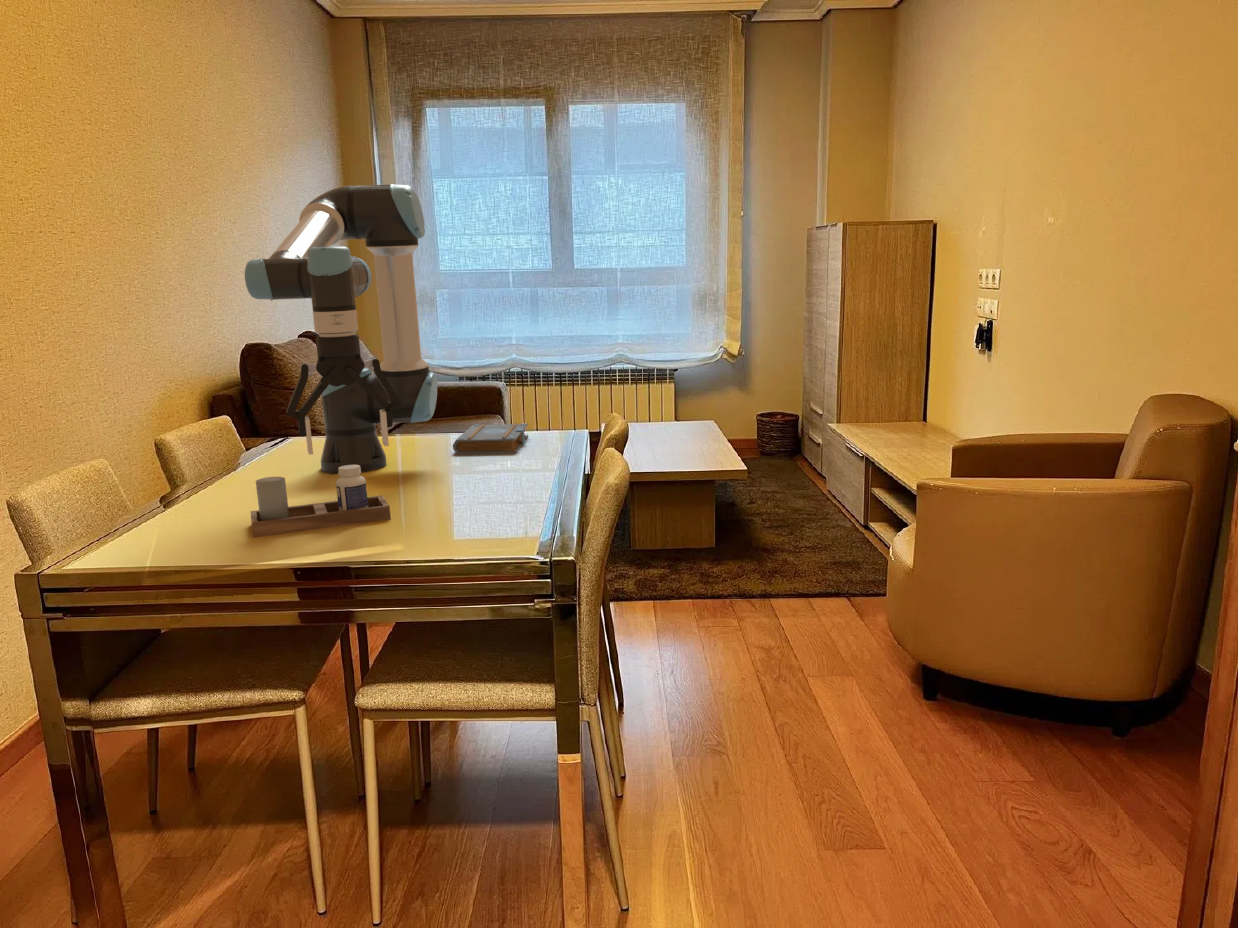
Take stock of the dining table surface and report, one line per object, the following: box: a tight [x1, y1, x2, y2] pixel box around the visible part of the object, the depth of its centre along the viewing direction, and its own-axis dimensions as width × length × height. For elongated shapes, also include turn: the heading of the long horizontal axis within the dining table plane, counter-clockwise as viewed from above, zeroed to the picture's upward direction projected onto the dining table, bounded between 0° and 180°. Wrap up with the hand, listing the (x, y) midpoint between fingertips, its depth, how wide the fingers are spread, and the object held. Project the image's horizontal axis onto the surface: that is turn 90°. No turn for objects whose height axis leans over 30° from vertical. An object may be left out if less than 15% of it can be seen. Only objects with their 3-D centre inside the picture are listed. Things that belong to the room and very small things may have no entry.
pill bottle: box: [335, 465, 369, 511], centre depth 172 cm, size 5×5×10 cm
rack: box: [250, 495, 392, 538], centre depth 171 cm, size 9×24×4 cm, turn 113°
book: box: [452, 422, 529, 455], centre depth 242 cm, size 21×16×5 cm
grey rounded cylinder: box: [255, 476, 289, 521], centre depth 167 cm, size 5×5×9 cm
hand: (348, 449), depth 171 cm, fingers open, 13 cm apart
